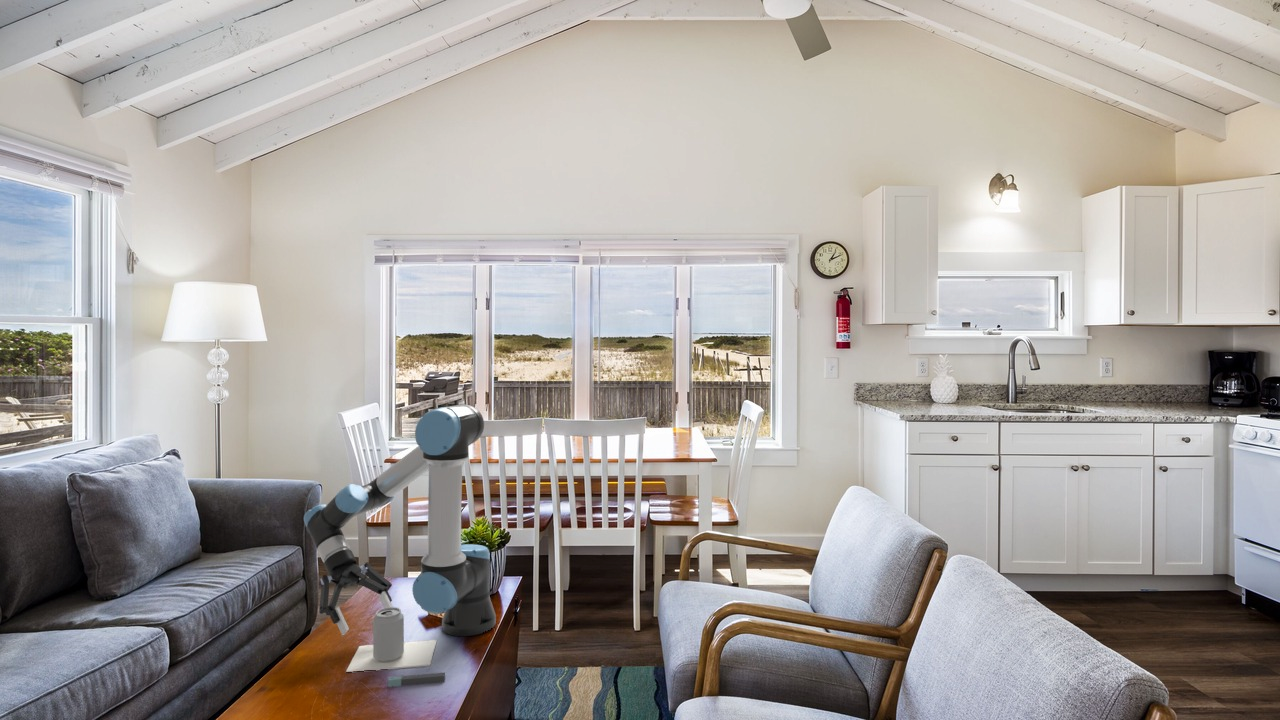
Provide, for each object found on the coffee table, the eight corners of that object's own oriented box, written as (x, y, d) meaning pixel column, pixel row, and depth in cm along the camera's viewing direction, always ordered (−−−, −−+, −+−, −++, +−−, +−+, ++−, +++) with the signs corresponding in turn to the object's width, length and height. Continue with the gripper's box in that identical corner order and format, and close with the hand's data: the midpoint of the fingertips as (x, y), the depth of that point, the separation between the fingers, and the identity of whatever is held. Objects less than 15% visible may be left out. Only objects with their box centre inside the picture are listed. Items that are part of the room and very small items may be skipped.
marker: (445, 678, 161) (445, 671, 161) (444, 682, 160) (444, 675, 159) (389, 683, 159) (389, 676, 159) (387, 687, 157) (387, 680, 157)
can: (394, 647, 177) (393, 603, 176) (409, 655, 172) (409, 610, 172) (367, 657, 171) (367, 611, 171) (382, 666, 166) (382, 619, 166)
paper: (436, 641, 181) (436, 639, 181) (429, 666, 167) (429, 664, 167) (359, 647, 178) (359, 645, 178) (346, 673, 164) (346, 671, 164)
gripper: (371, 552, 195) (403, 614, 187) (287, 576, 175) (318, 647, 167) (382, 537, 192) (415, 600, 184) (297, 560, 172) (330, 632, 164)
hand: (369, 623), depth 175 cm, fingers open, 13 cm apart
